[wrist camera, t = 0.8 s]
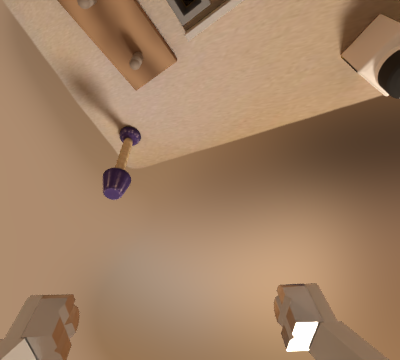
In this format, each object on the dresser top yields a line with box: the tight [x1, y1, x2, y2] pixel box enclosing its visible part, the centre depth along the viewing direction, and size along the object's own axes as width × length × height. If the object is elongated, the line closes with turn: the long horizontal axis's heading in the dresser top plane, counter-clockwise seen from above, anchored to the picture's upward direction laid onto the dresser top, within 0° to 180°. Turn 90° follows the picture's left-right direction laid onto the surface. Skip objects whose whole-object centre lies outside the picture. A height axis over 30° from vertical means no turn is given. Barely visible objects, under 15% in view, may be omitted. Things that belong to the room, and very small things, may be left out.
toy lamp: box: [103, 127, 141, 200], centre depth 48 cm, size 5×5×17 cm
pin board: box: [58, 0, 177, 90], centre depth 38 cm, size 9×20×6 cm, turn 34°
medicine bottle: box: [341, 14, 400, 99], centre depth 38 cm, size 7×7×12 cm
